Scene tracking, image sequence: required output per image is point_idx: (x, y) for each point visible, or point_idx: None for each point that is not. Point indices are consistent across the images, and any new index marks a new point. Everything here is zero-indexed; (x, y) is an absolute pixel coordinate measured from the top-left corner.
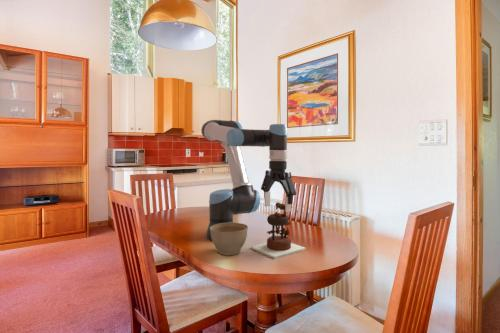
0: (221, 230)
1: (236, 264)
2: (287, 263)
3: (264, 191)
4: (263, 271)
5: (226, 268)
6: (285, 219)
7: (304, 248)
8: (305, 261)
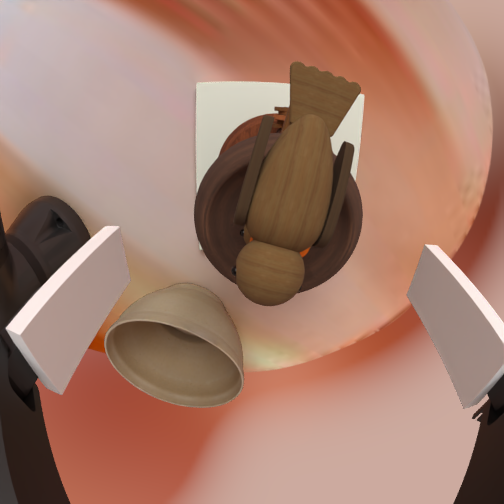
0: (121, 337)
1: (287, 344)
2: (390, 253)
3: (34, 387)
4: (367, 326)
5: (288, 365)
6: (361, 226)
7: (363, 101)
8: (423, 201)
